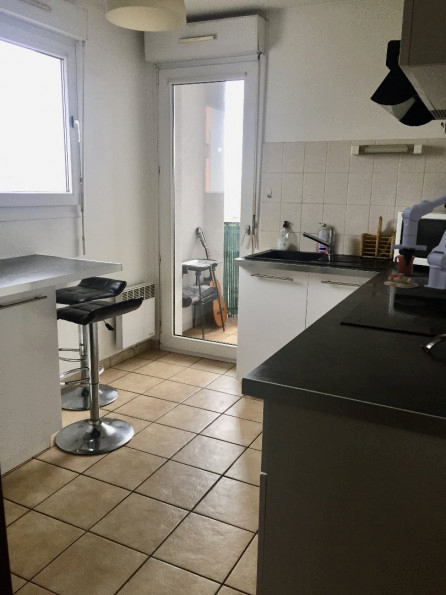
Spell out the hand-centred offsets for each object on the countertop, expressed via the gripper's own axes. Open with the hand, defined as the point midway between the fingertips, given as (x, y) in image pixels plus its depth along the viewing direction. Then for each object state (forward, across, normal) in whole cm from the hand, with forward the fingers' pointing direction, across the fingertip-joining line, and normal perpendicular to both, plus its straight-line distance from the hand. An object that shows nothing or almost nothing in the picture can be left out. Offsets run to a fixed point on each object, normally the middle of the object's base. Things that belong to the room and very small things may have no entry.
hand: (407, 265), depth 221 cm
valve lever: (+6, +3, -6) cm, 9 cm away
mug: (+11, -5, -43) cm, 45 cm away
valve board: (+10, 0, -9) cm, 14 cm away
